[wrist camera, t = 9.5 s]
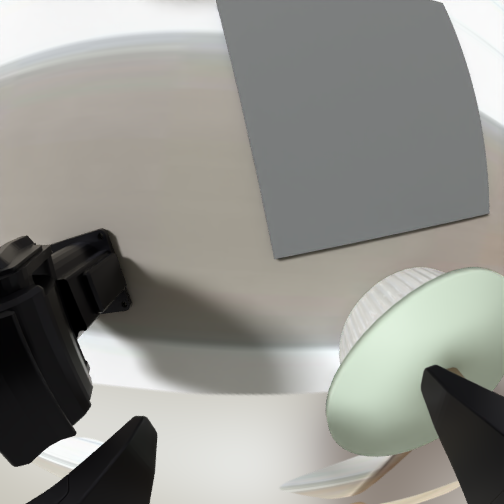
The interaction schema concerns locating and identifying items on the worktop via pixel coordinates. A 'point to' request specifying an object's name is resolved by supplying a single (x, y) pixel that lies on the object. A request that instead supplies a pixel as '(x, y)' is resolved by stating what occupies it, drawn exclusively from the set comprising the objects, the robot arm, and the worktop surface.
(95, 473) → the robot arm
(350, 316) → the ramekin
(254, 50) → the mat
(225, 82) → the worktop surface
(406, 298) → the lid
